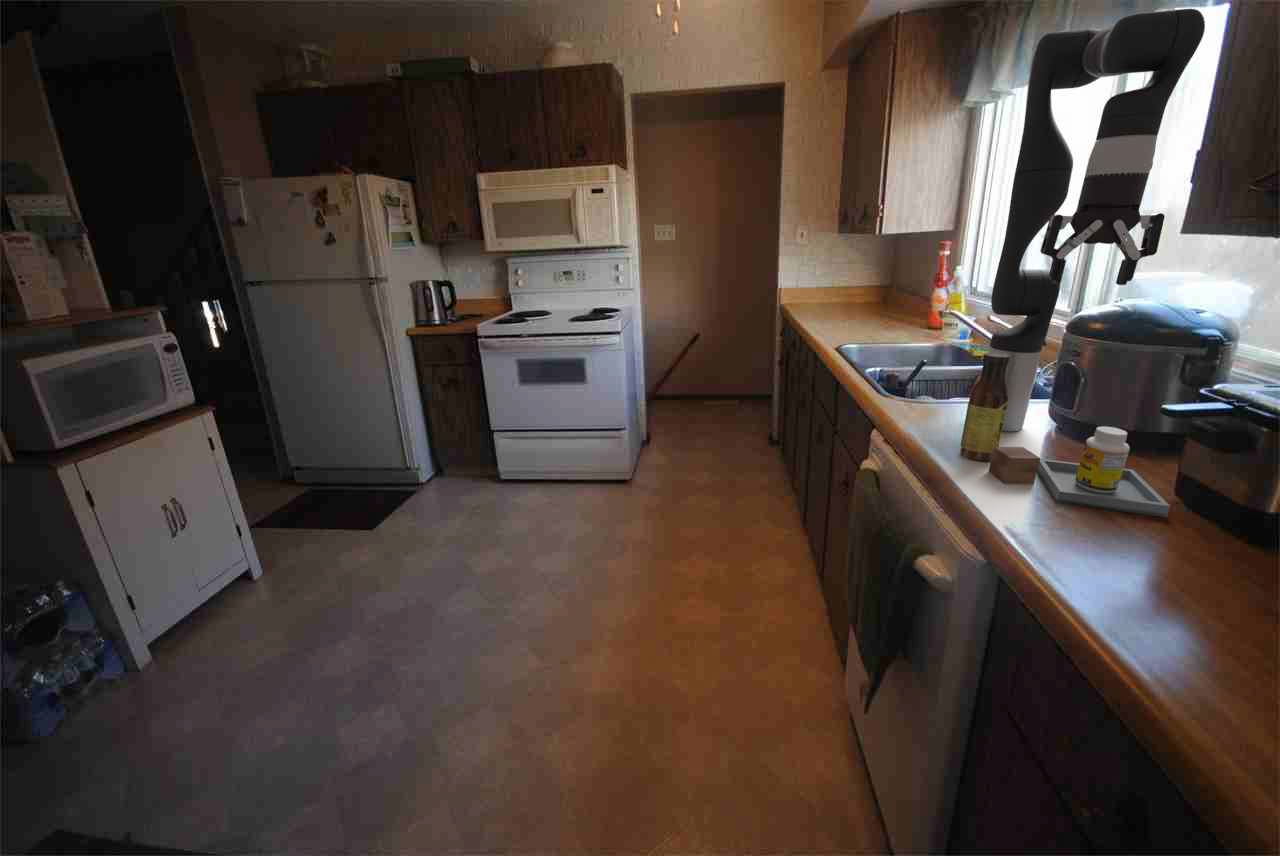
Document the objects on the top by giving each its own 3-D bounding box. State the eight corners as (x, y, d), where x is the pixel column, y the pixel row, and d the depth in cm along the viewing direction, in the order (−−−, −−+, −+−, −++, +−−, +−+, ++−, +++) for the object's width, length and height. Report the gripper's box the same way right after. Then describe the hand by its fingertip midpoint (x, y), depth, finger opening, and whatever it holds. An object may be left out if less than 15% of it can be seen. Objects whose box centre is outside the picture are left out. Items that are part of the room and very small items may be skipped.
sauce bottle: (1001, 463, 104) (1025, 359, 97) (964, 461, 105) (986, 358, 98) (987, 450, 110) (1010, 351, 103) (953, 448, 111) (973, 350, 104)
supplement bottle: (1069, 478, 97) (1085, 422, 93) (1108, 483, 95) (1126, 426, 91) (1079, 491, 92) (1096, 434, 88) (1121, 497, 90) (1140, 438, 86)
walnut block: (988, 472, 101) (993, 446, 99) (1016, 472, 101) (1022, 446, 99) (1004, 484, 96) (1010, 458, 95) (1033, 484, 96) (1040, 458, 94)
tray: (1035, 468, 102) (1037, 458, 101) (1129, 480, 97) (1133, 469, 96) (1056, 502, 90) (1060, 491, 89) (1166, 517, 85) (1170, 506, 84)
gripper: (1165, 172, 84) (1133, 283, 90) (1053, 175, 89) (1029, 280, 94) (1190, 168, 77) (1153, 288, 83) (1067, 172, 82) (1040, 285, 88)
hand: (1087, 284), depth 89 cm, fingers open, 8 cm apart
